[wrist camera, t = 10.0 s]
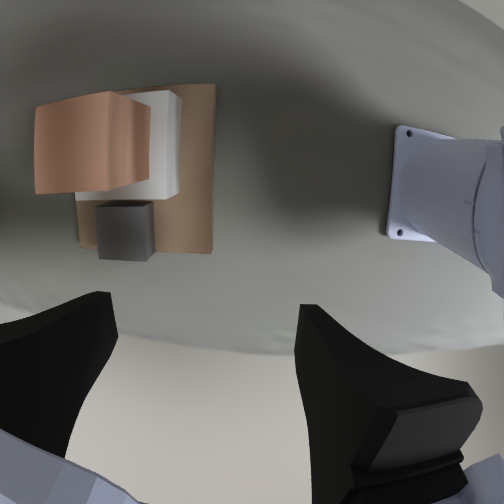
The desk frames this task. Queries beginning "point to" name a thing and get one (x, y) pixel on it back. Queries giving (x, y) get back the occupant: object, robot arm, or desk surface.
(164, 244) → the plate
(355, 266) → the desk surface
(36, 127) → the terracotta block
